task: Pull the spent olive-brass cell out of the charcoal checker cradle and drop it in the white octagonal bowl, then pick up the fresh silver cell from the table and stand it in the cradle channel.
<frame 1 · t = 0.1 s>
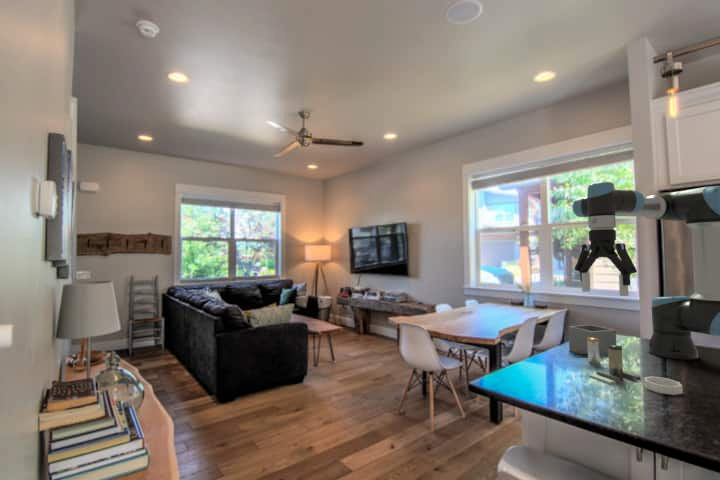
hand: (604, 293, 119), 28 cm above the countertop, fingers open, 13 cm apart
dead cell: (616, 377, 115), point 1 cm above the countertop, touching cradle
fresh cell: (594, 366, 131), on the countertop
white octagonal bowl: (662, 394, 105), on the countertop
smartphone: (592, 354, 149), resting in phone caddy
phone caddy: (592, 352, 149), on the countertop
cradle: (616, 382, 115), on the countertop
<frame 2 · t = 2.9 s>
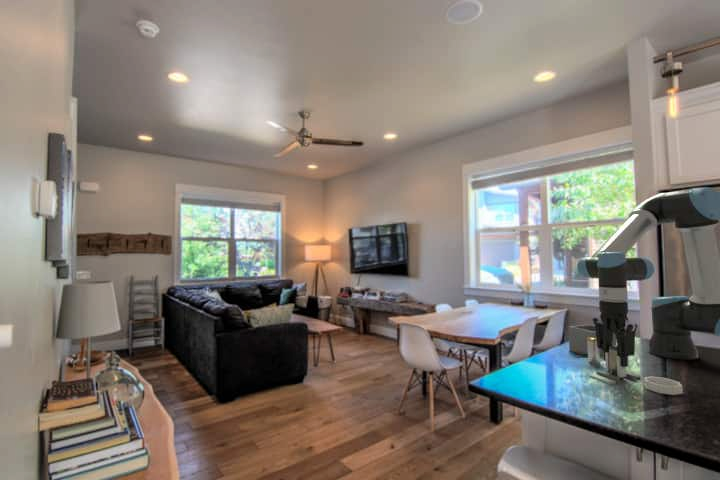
hand: (616, 374, 115), 3 cm above the countertop, fingers closed on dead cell, 3 cm apart
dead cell: (616, 378, 115), point 2 cm above the countertop, touching gripper
everything else where it was.
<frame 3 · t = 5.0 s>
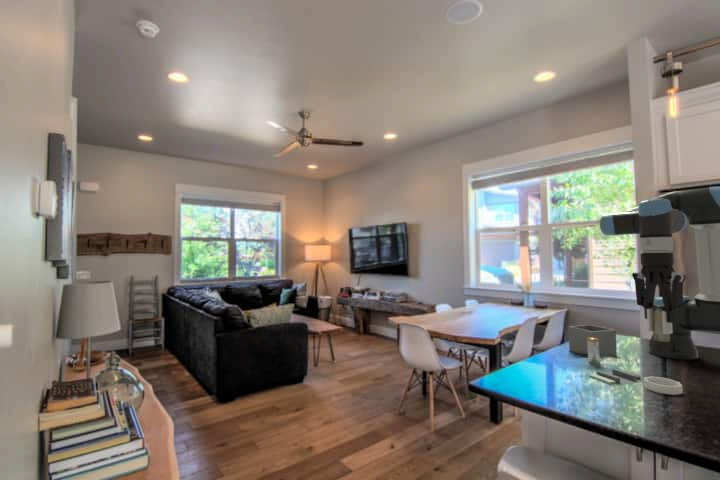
hand: (659, 331, 106), 18 cm above the countertop, fingers closed on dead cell, 3 cm apart
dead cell: (661, 340, 106), point 15 cm above the countertop, touching gripper
everything else where it was.
when the fingers open (5 cm above the countertop, at t = 7.1 s): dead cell drops 1 cm, resting on white octagonal bowl.
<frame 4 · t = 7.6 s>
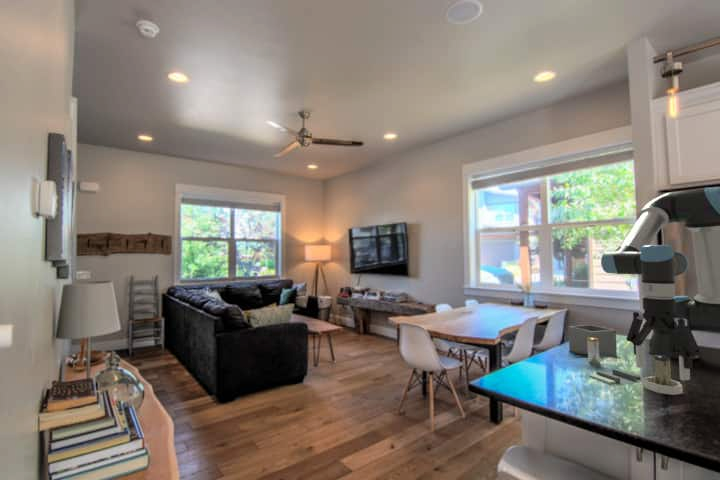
hand: (661, 372, 106), 6 cm above the countertop, fingers open, 11 cm apart
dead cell: (663, 391, 106), point 1 cm above the countertop, touching white octagonal bowl
everything else where it was.
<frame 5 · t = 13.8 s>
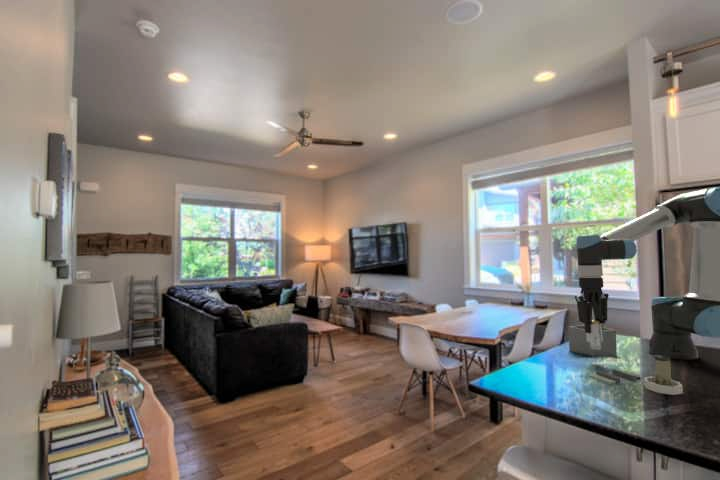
hand: (594, 341, 132), 9 cm above the countertop, fingers closed on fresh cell, 3 cm apart
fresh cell: (595, 348, 132), point 6 cm above the countertop, touching gripper
everything else where it was.
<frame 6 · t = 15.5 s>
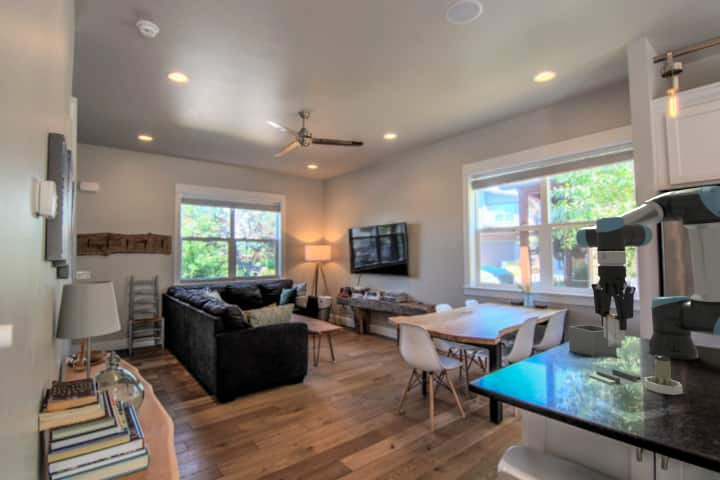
hand: (614, 338, 115), 14 cm above the countertop, fingers closed on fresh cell, 3 cm apart
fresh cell: (614, 346, 115), point 11 cm above the countertop, touching gripper
everything else where it was.
when the fingers open (2 cm above the countertop, at t = 17.7 s): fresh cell stays where it is, resting on cradle.
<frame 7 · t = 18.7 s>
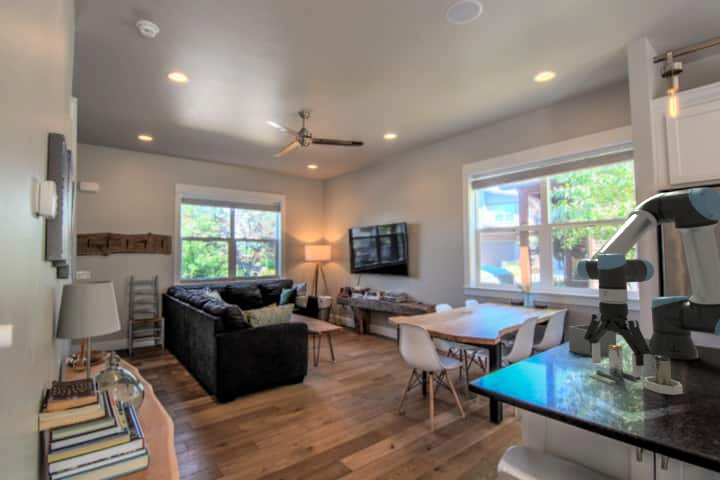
hand: (615, 369, 115), 4 cm above the countertop, fingers open, 13 cm apart
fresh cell: (616, 378, 115), point 1 cm above the countertop, touching cradle
everything else where it was.
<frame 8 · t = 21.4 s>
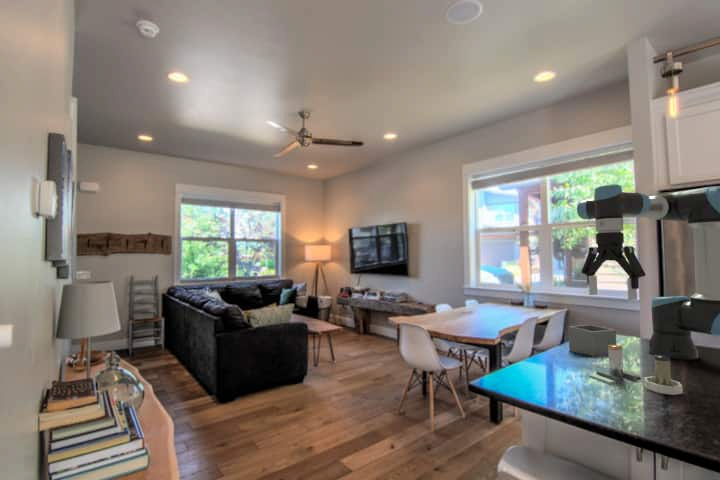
hand: (611, 297, 118), 27 cm above the countertop, fingers open, 13 cm apart
nothing on the countertop moved.
at the end: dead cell 0.8 cm off-centre on the white octagonal bowl, point 0.6 cm above the white octagonal bowl's base; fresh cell 0.1 cm off-centre on the cradle, point 1.5 cm above the cradle's base; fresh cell tilted 0° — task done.
